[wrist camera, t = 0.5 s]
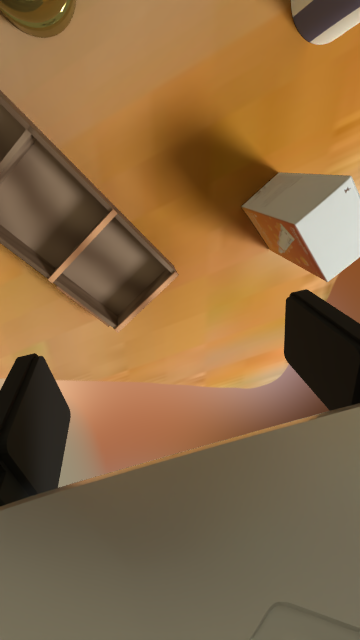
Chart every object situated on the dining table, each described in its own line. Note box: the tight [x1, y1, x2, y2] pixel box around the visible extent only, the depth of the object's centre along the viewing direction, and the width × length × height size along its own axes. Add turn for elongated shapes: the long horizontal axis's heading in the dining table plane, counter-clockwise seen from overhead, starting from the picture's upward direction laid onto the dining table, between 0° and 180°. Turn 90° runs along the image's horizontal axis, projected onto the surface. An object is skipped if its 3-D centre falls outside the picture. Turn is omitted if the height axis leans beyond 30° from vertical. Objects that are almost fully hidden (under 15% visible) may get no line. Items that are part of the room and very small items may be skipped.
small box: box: [242, 173, 360, 282], centre depth 33 cm, size 8×6×13 cm
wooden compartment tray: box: [0, 90, 178, 332], centre depth 31 cm, size 11×31×4 cm, turn 42°
